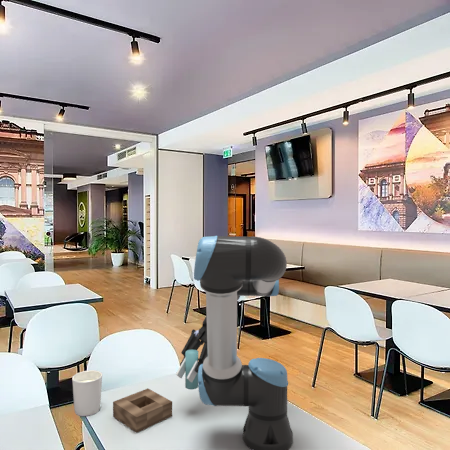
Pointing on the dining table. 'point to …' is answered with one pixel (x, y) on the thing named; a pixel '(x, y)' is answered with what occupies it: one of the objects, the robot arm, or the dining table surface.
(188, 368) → the teal peg
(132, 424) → the walnut block
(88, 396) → the candle holder
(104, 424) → the dining table surface
